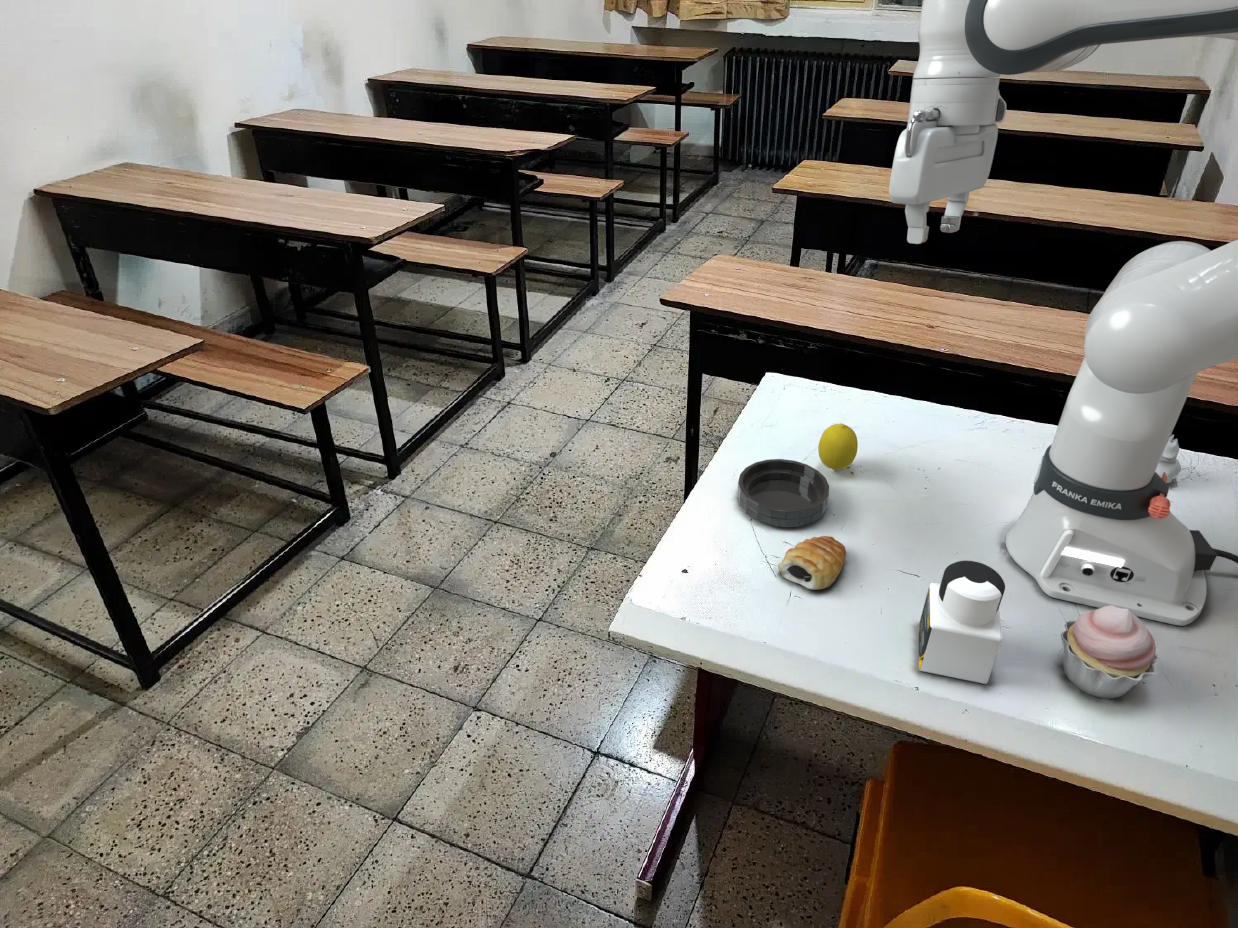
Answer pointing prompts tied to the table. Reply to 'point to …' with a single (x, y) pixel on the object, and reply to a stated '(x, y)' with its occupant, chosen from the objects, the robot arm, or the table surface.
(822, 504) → the shallow dish
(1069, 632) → the cupcake
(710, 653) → the table surface
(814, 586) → the pastry
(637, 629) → the table surface
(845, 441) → the lemon
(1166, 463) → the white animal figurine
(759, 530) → the table surface
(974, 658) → the medicine bottle
